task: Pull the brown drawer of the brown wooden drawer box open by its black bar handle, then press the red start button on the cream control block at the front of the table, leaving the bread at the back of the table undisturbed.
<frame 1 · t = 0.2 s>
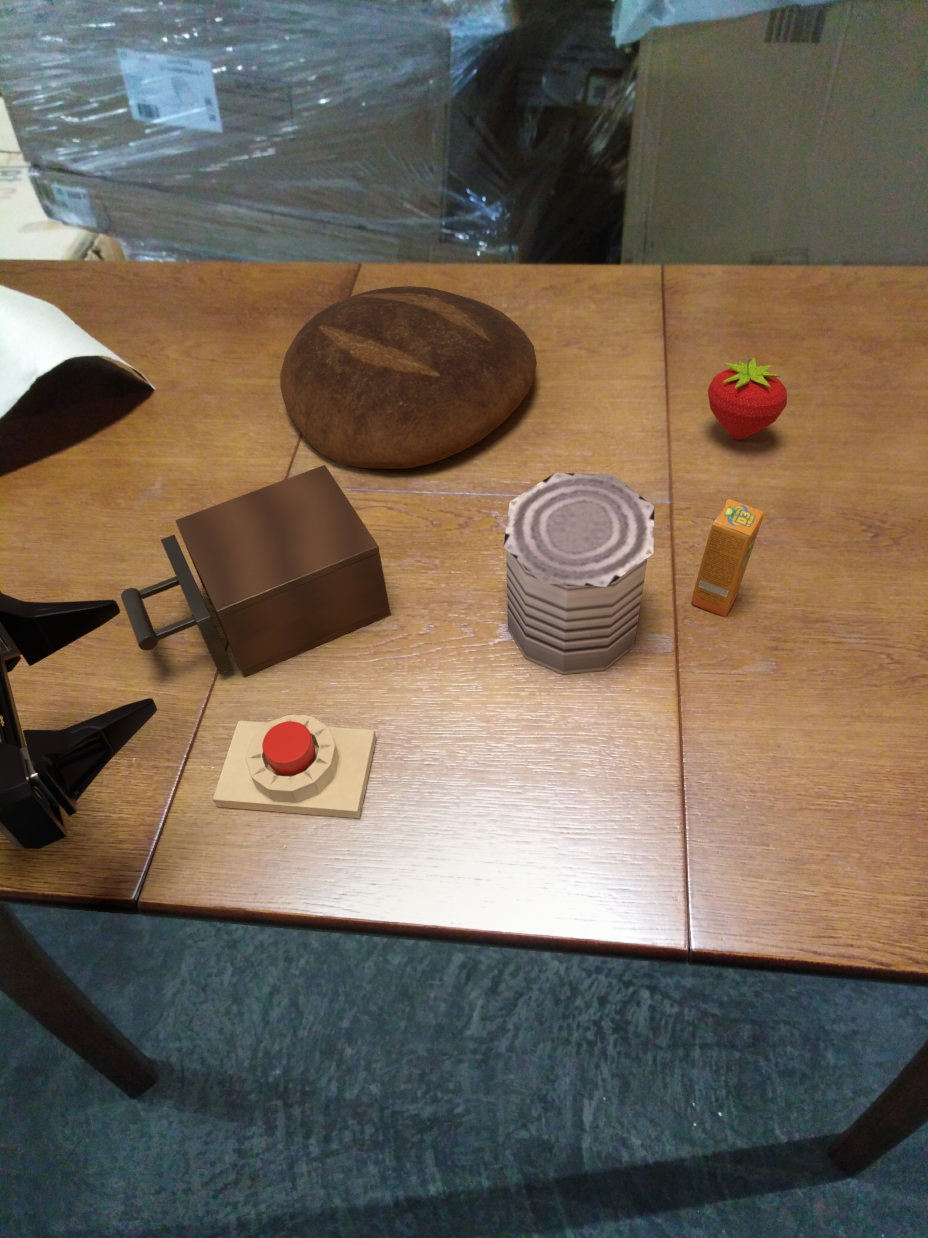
hand: (135, 652, 58), 15 cm above the table, tool horizontal, fingers open, 9 cm apart
can: (572, 624, 77), on the table
supplement box: (715, 601, 77), on the table
control block: (298, 771, 69), on the table
bread: (409, 392, 99), on the table
brown drawer: (234, 588, 75), point 4 cm above the table, slide at 0.5 cm
start button: (289, 747, 66), point 3 cm above the table, slide at 0.1 cm
brown wooden drawer box: (295, 601, 80), on the table
strawberry: (736, 441, 91), on the table
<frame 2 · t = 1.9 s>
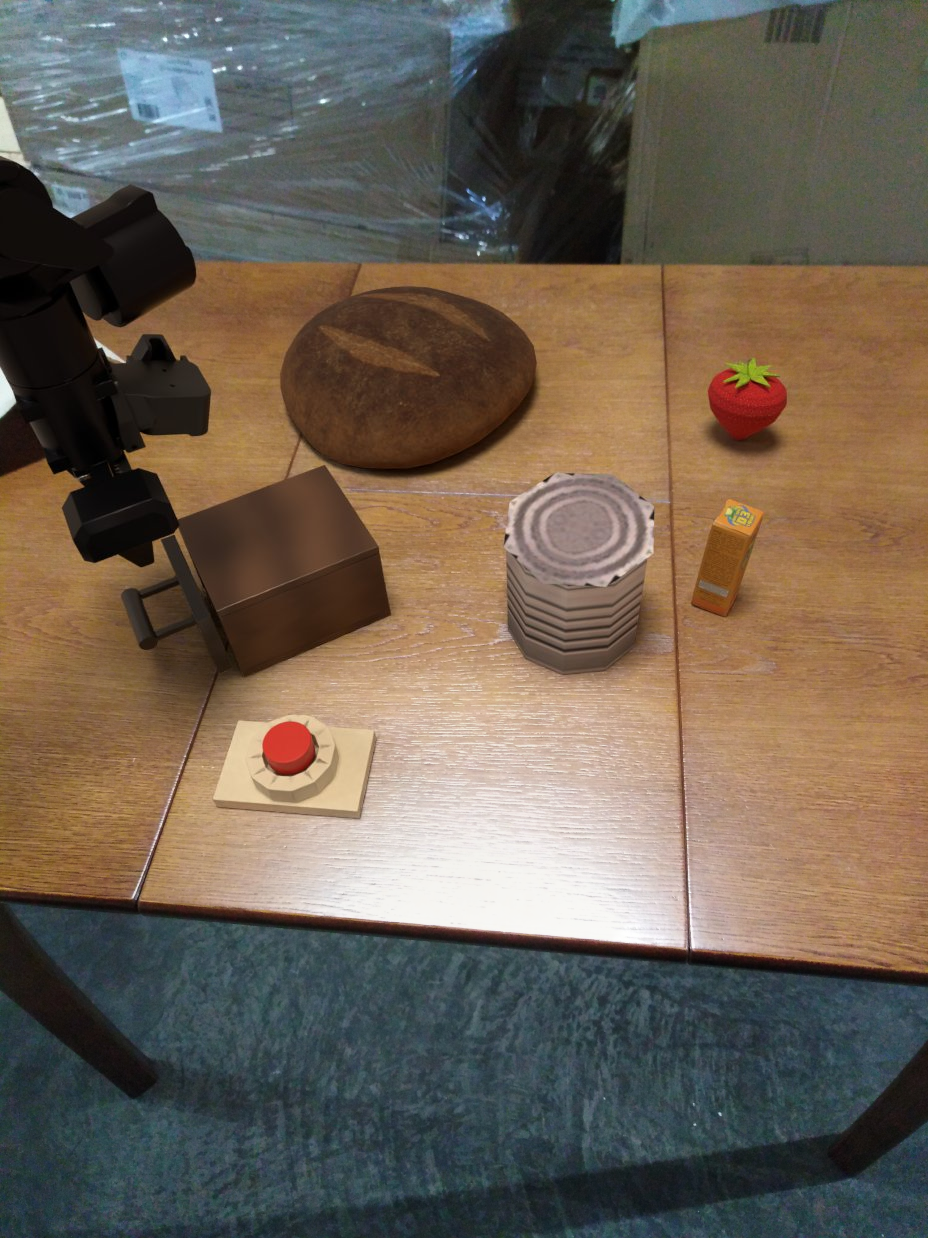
hand: (137, 539, 67), 13 cm above the table, tool pointing down, fingers open, 6 cm apart
nothing on the table moved.
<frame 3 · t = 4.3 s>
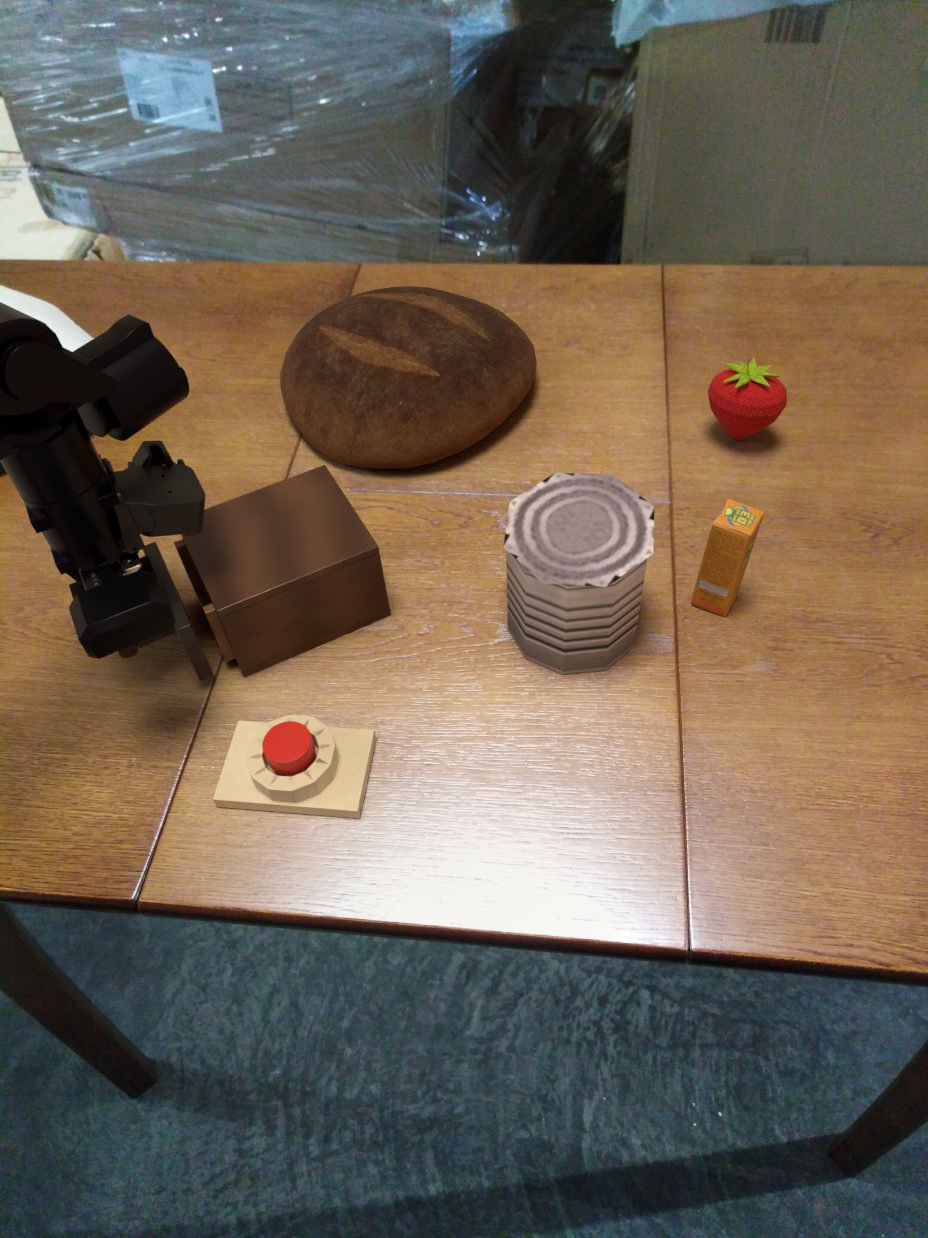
hand: (137, 621, 73), 5 cm above the table, tool pointing down, fingers closed, pressing on brown drawer
brown drawer: (215, 596, 75), point 4 cm above the table, slide at 2.1 cm, touching gripper
everything else where it was.
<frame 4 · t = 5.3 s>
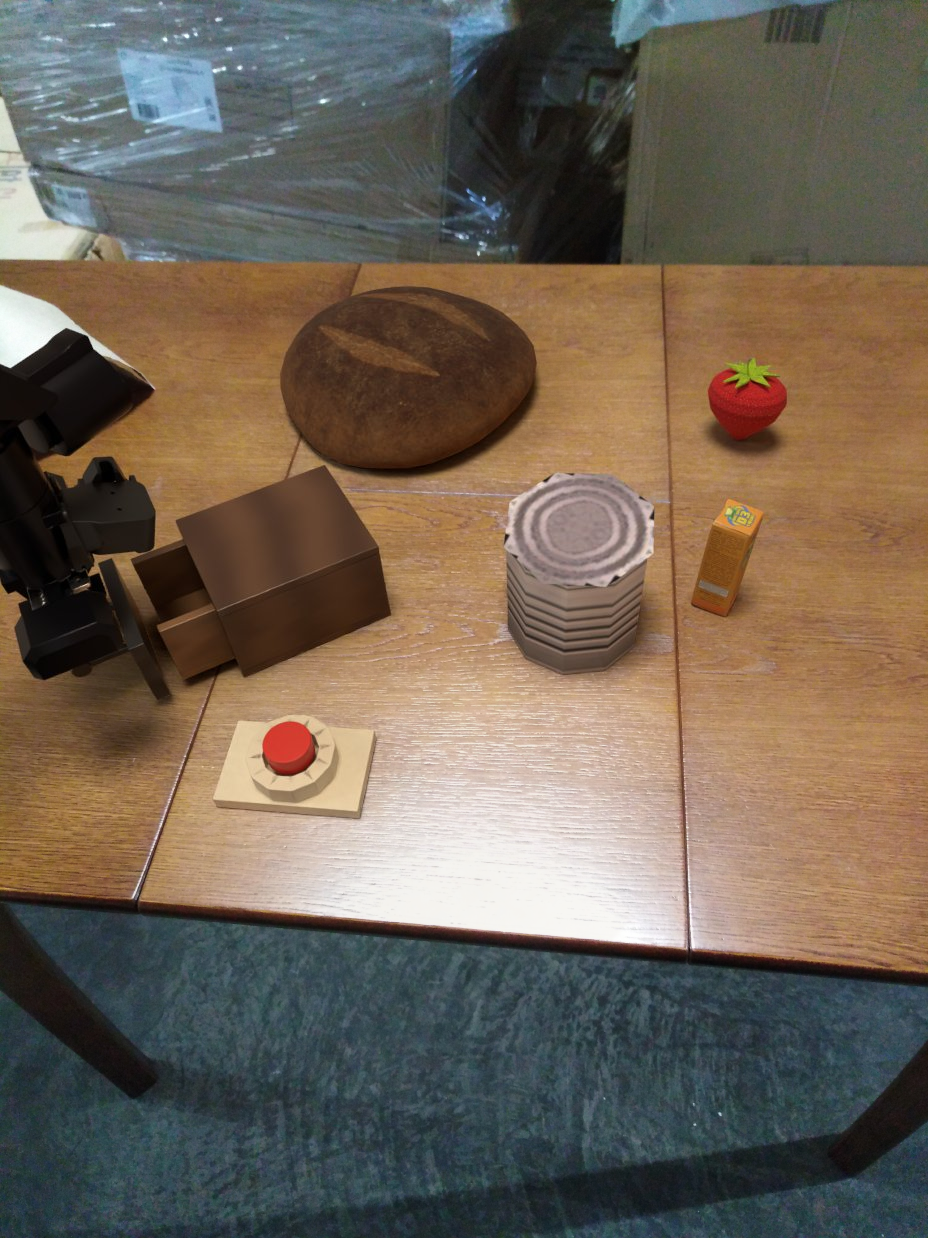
hand: (92, 638, 72), 5 cm above the table, tool pointing down, fingers closed, pressing on brown drawer
brown drawer: (173, 613, 74), point 4 cm above the table, slide at 5.8 cm, touching gripper
everything else where it was.
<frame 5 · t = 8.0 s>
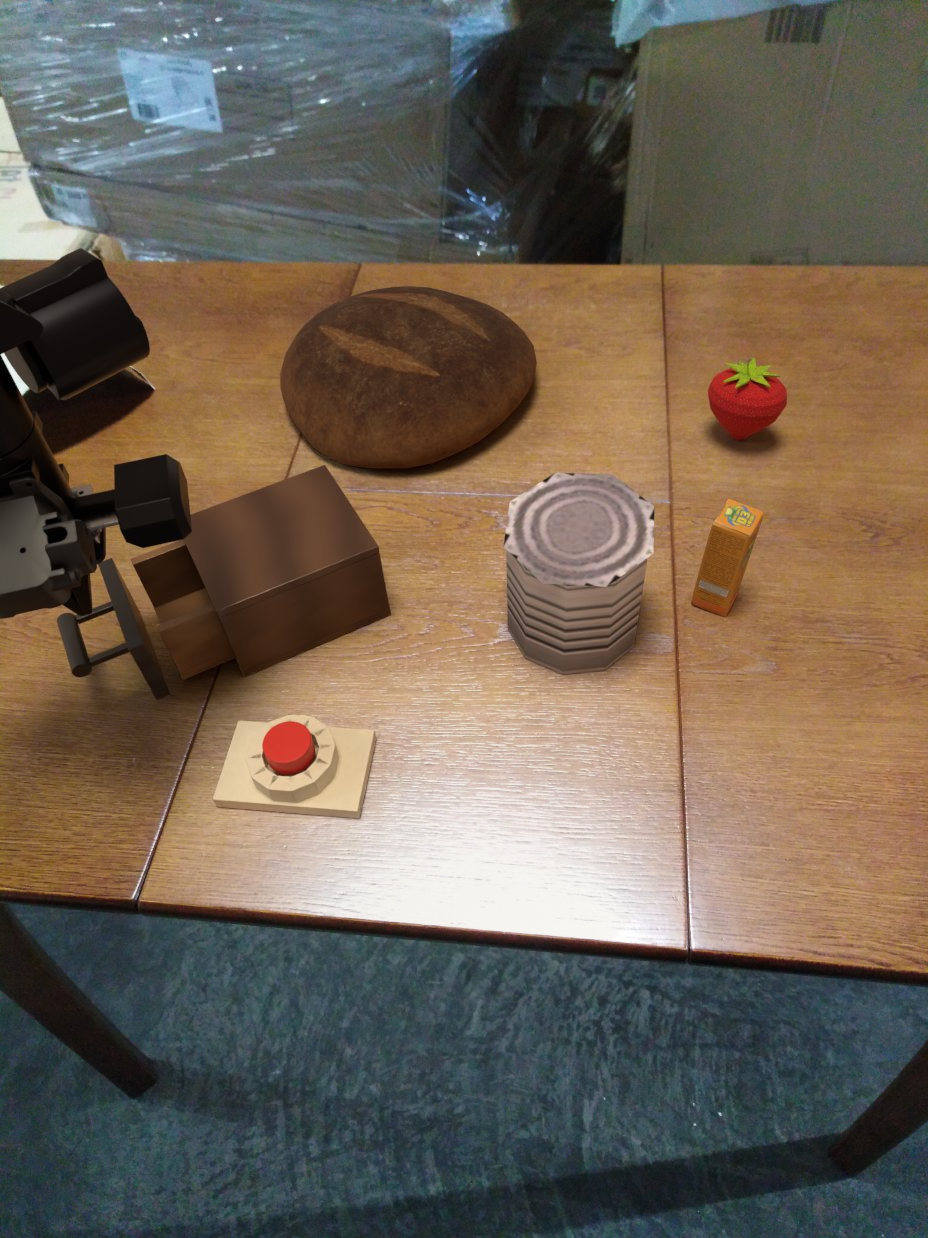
hand: (86, 610, 63), 13 cm above the table, tool pointing down, fingers closed
brown drawer: (173, 613, 74), point 4 cm above the table, slide at 5.8 cm
everything else where it was.
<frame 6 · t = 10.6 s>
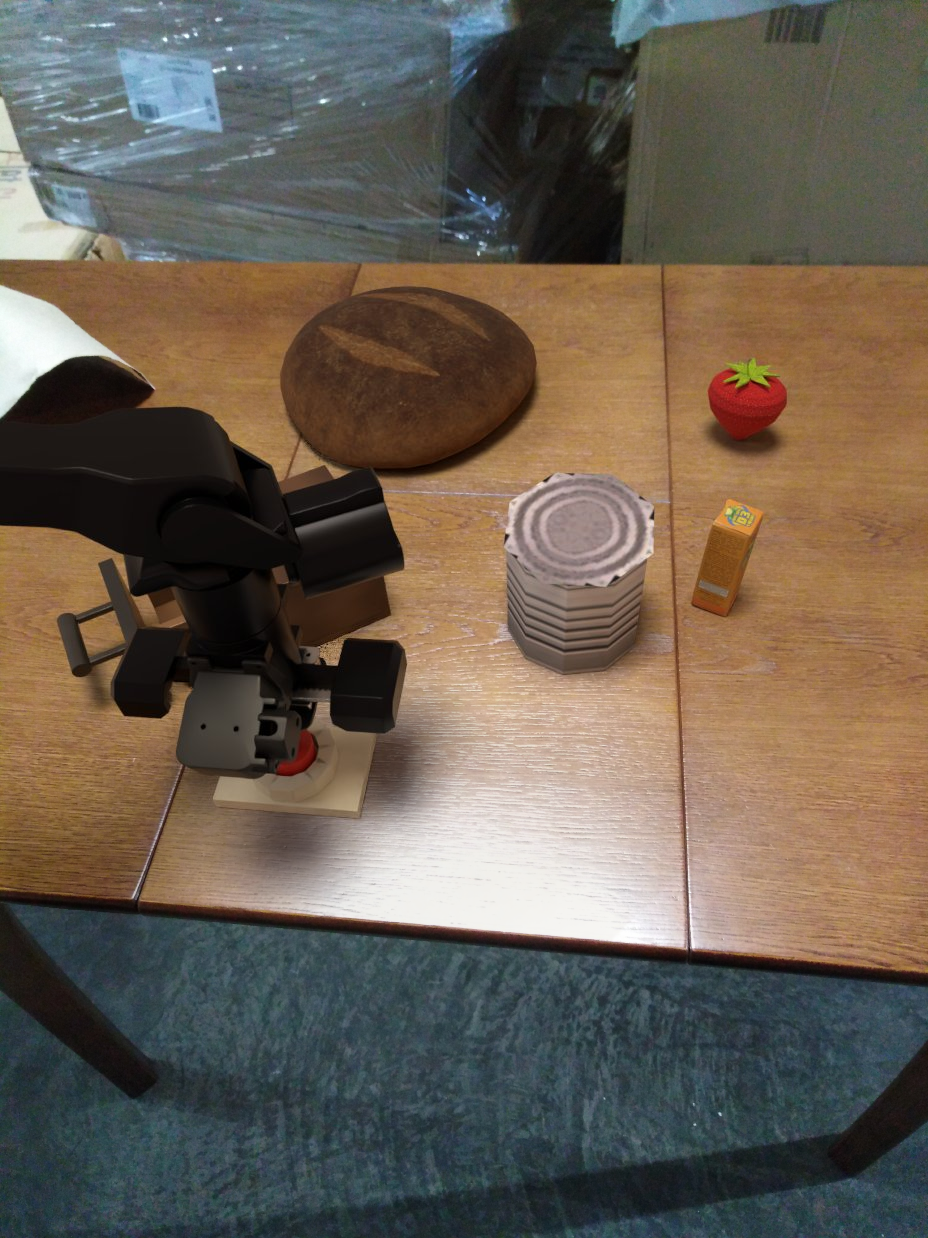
hand: (287, 744, 66), 4 cm above the table, tool pointing down, fingers closed, pressing on start button
start button: (290, 750, 66), point 3 cm above the table, slide at -0.2 cm, touching gripper
everything else where it was.
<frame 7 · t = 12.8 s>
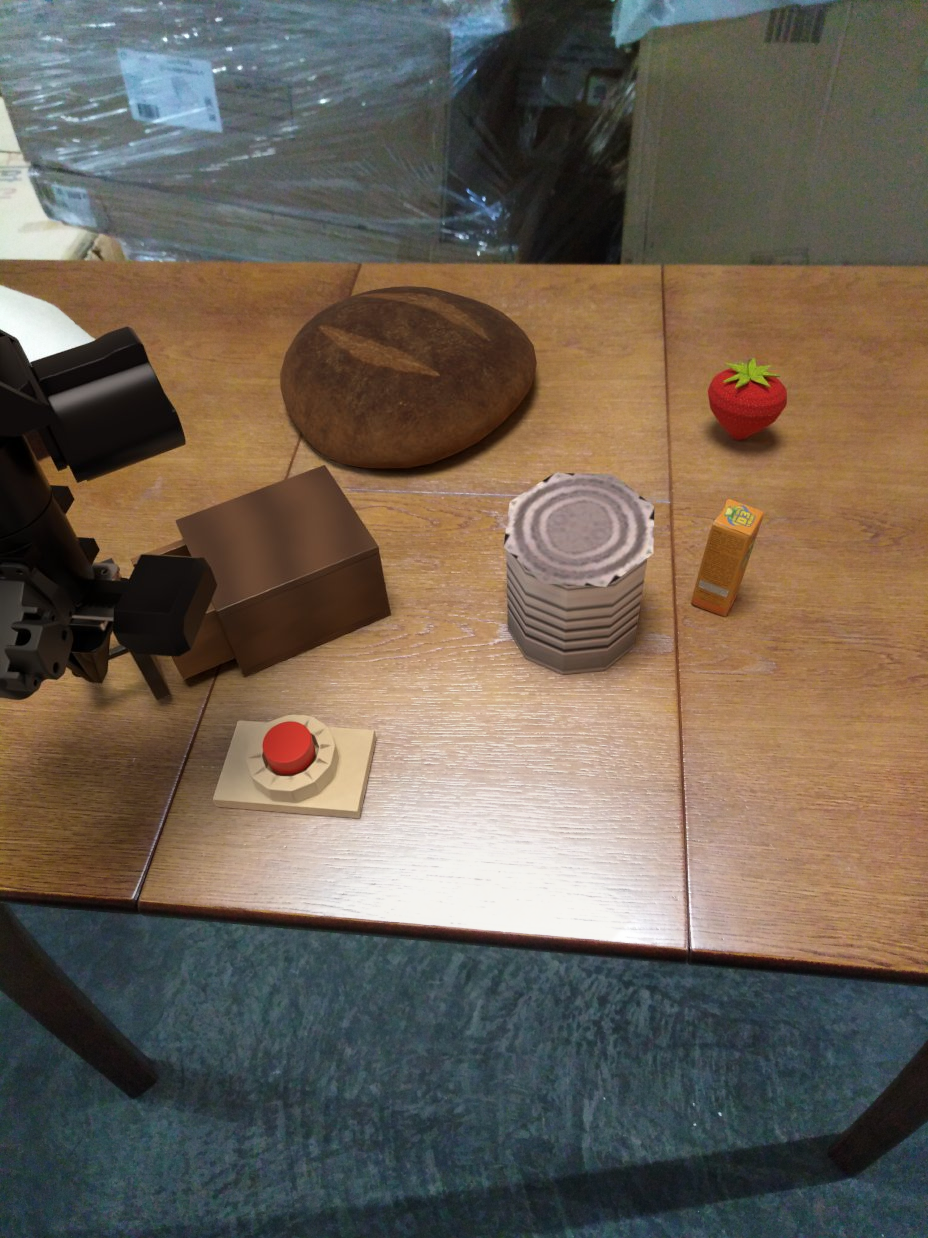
hand: (99, 677, 60), 12 cm above the table, tool pointing down, fingers closed
start button: (289, 747, 66), point 3 cm above the table, slide at 0.1 cm
everything else where it was.
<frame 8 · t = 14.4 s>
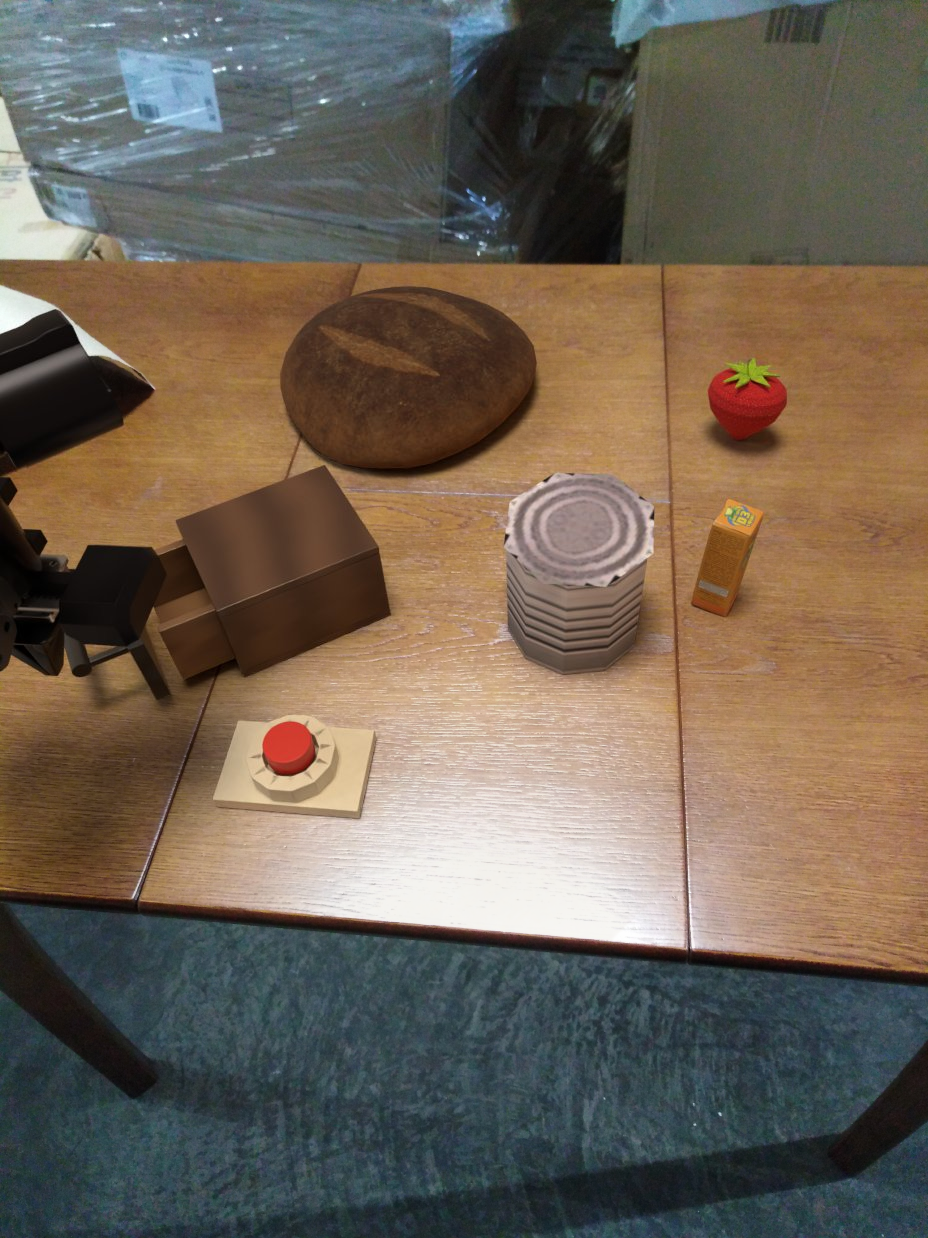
hand: (55, 670, 60), 13 cm above the table, tool pointing down, fingers closed
nothing on the table moved.
at the end: brown drawer slide at 5.8 cm; start button pushed in 1.1 cm at the most during the clip, back to where it started at the end; bread moved 0.2 cm from its start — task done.
